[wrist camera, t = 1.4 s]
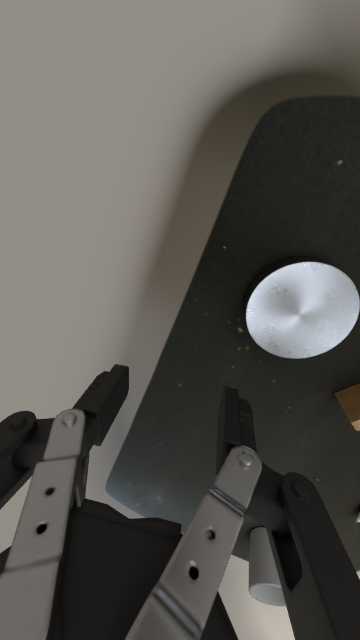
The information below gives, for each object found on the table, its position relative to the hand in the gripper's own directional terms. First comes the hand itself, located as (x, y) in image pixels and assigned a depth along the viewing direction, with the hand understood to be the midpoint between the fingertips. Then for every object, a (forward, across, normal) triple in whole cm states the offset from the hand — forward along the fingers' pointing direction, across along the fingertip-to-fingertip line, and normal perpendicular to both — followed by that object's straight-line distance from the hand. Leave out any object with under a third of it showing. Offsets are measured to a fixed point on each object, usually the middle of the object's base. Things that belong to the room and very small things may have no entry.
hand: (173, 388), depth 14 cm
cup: (+18, -20, +47) cm, 54 cm away
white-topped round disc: (+17, -11, 0) cm, 20 cm away
